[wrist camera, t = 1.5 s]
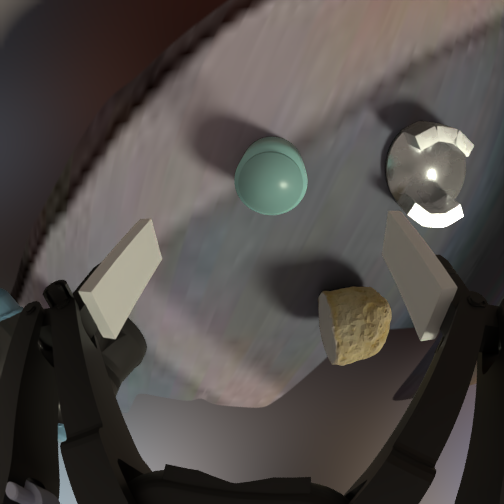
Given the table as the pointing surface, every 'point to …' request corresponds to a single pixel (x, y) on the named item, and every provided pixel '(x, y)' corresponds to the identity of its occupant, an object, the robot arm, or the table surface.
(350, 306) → the coral
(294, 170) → the teal rounded cylinder
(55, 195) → the table surface
